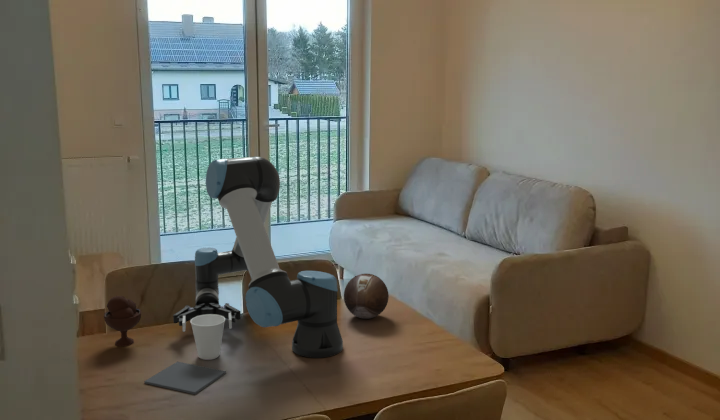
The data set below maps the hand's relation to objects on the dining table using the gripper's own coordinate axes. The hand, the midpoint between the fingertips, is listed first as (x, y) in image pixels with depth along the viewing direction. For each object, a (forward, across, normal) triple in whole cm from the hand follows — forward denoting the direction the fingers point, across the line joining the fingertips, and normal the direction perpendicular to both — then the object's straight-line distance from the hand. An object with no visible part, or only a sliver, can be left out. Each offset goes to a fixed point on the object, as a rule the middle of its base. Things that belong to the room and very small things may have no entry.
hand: (207, 325), depth 207 cm
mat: (+22, +6, -6) cm, 23 cm away
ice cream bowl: (-7, +25, -7) cm, 26 cm away
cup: (+8, 0, -7) cm, 10 cm away
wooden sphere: (-16, -52, -7) cm, 55 cm away
